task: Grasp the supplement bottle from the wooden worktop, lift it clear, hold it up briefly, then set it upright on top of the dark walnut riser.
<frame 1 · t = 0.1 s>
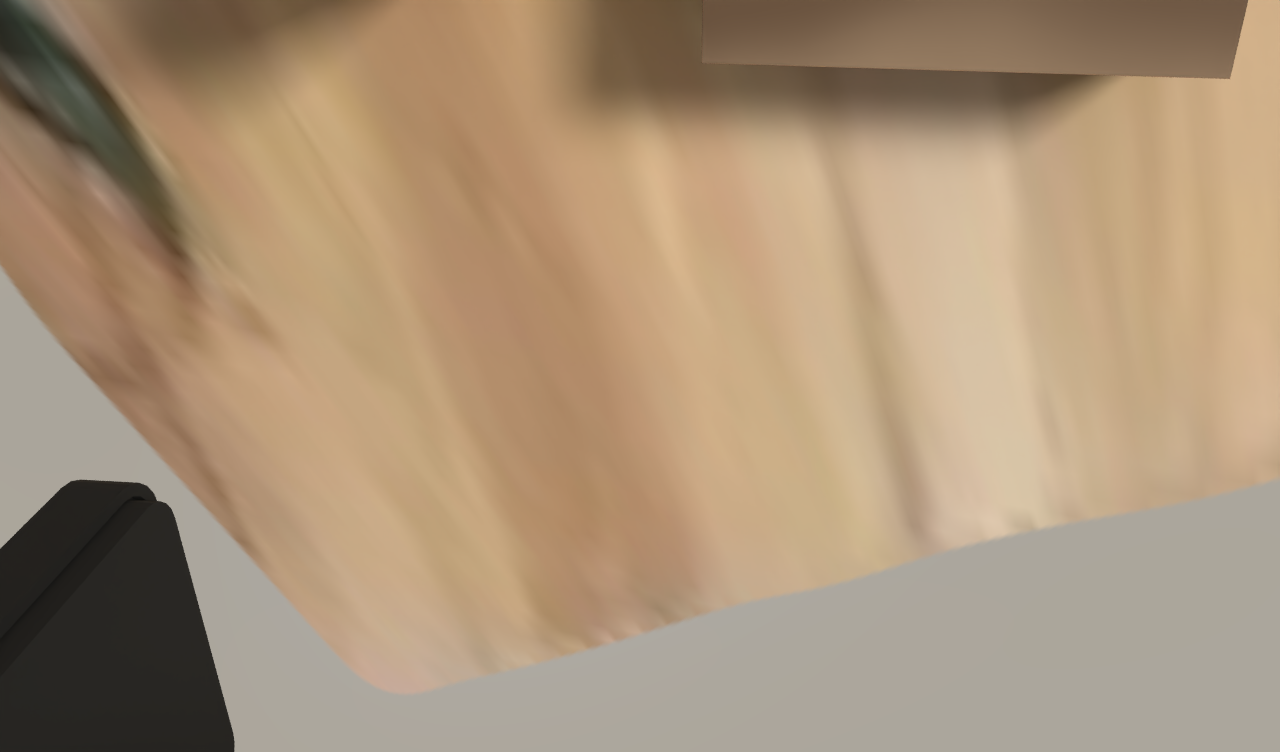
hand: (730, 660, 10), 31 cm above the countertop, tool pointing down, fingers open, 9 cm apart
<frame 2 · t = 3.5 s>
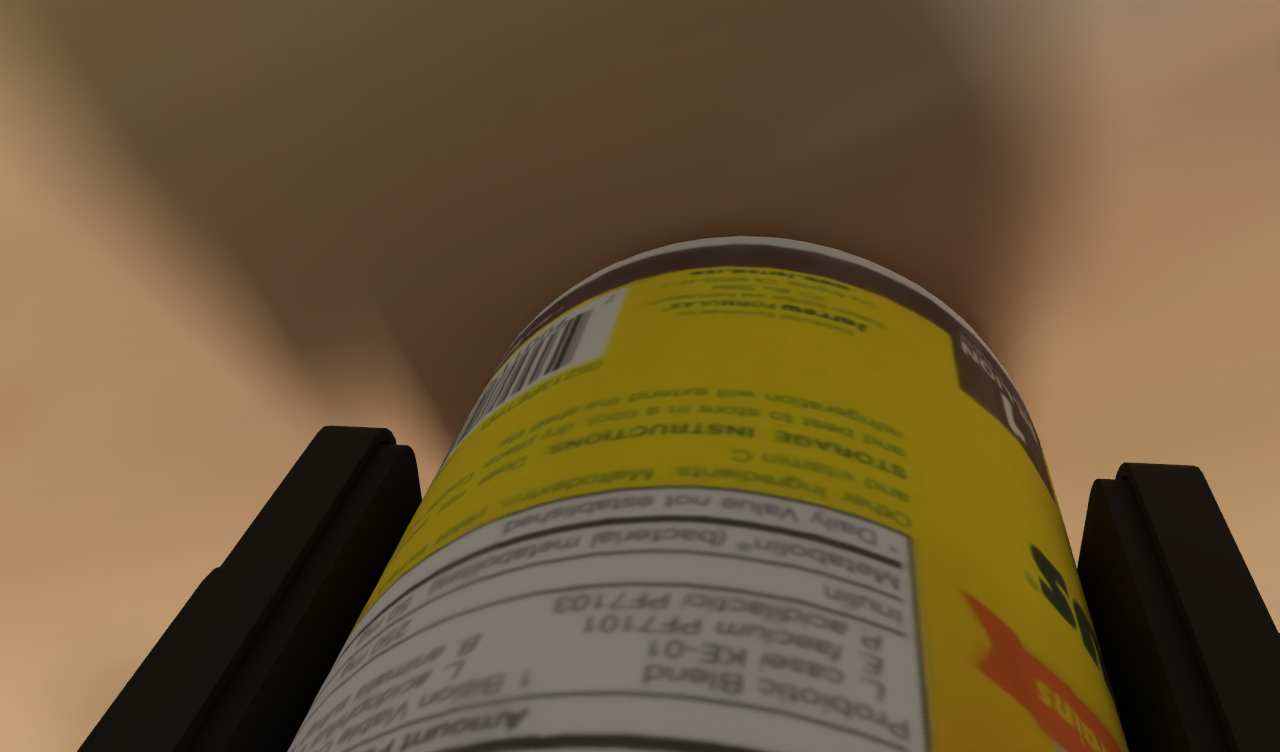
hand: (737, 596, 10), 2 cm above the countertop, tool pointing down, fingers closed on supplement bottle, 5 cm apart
supplement bottle: (754, 457, 12), on the countertop, touching gripper
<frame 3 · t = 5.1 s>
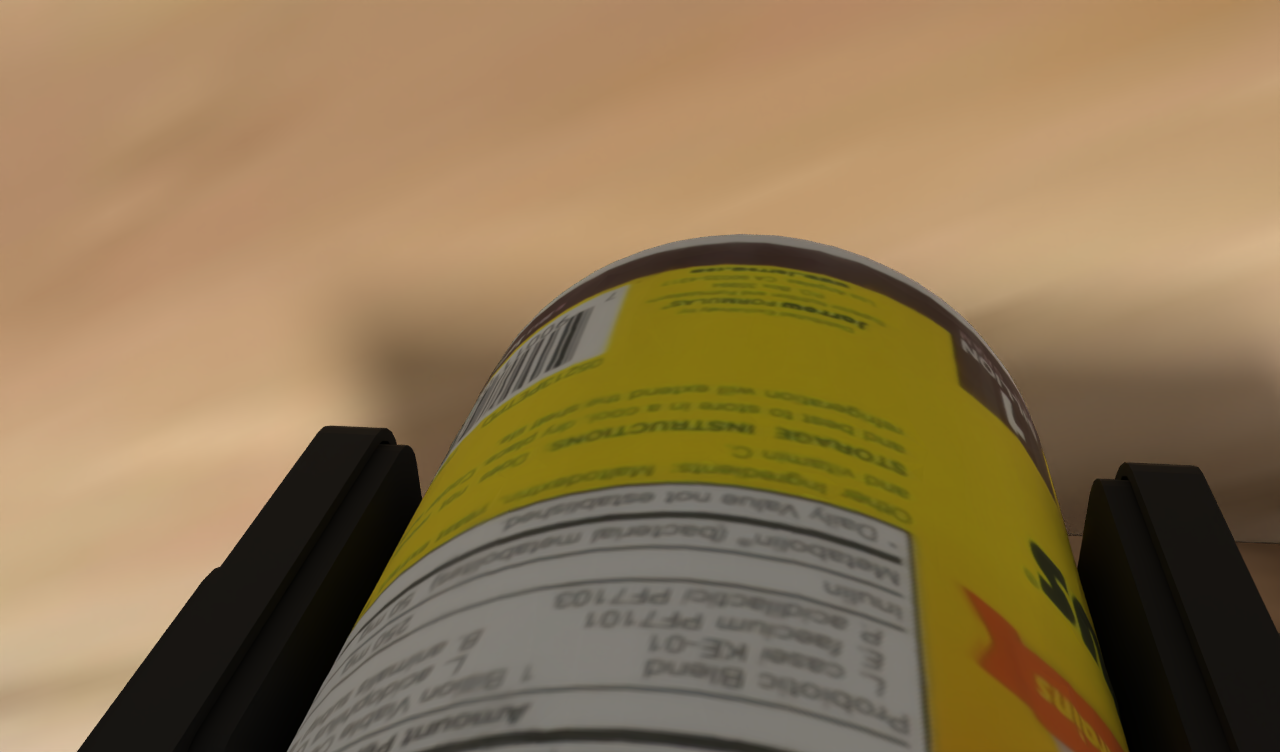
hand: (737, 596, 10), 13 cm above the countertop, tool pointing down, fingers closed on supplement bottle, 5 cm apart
supplement bottle: (755, 455, 12), point 11 cm above the countertop, touching gripper
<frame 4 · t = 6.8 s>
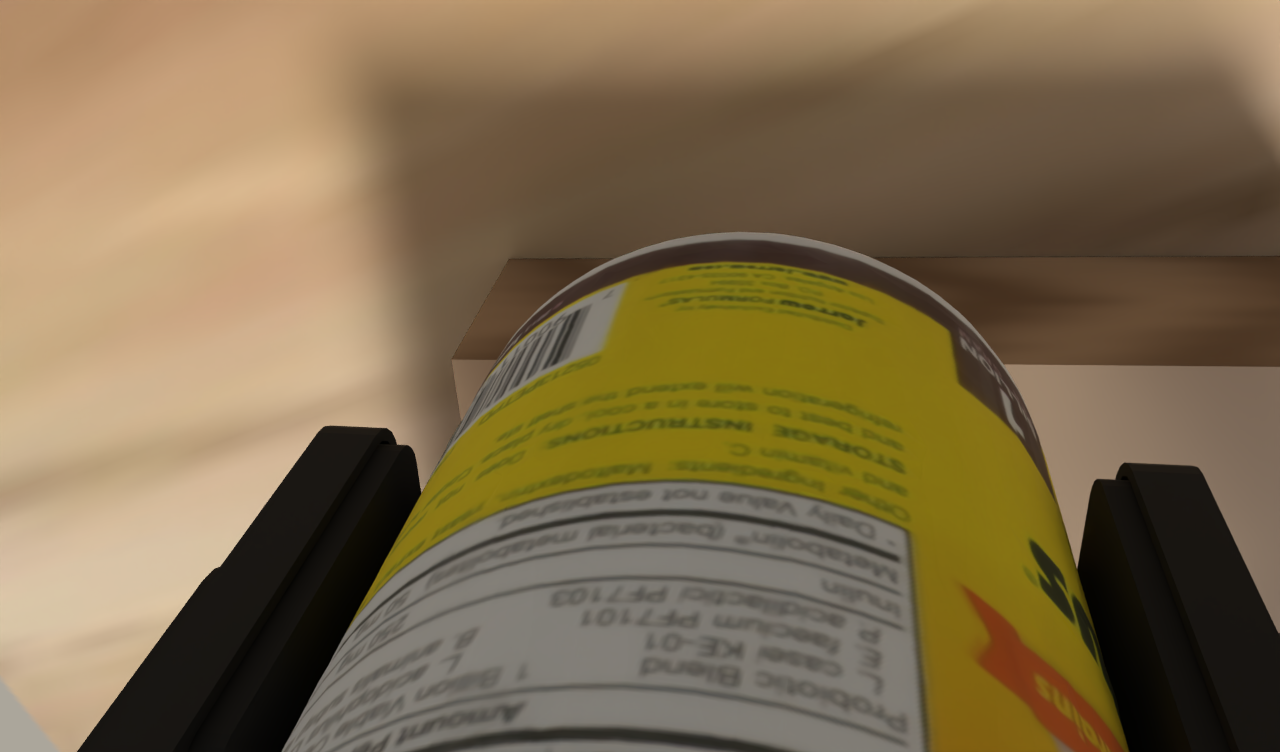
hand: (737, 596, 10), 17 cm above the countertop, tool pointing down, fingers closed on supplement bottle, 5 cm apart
supplement bottle: (753, 453, 12), point 15 cm above the countertop, touching gripper
walnut riser: (891, 516, 30), on the countertop
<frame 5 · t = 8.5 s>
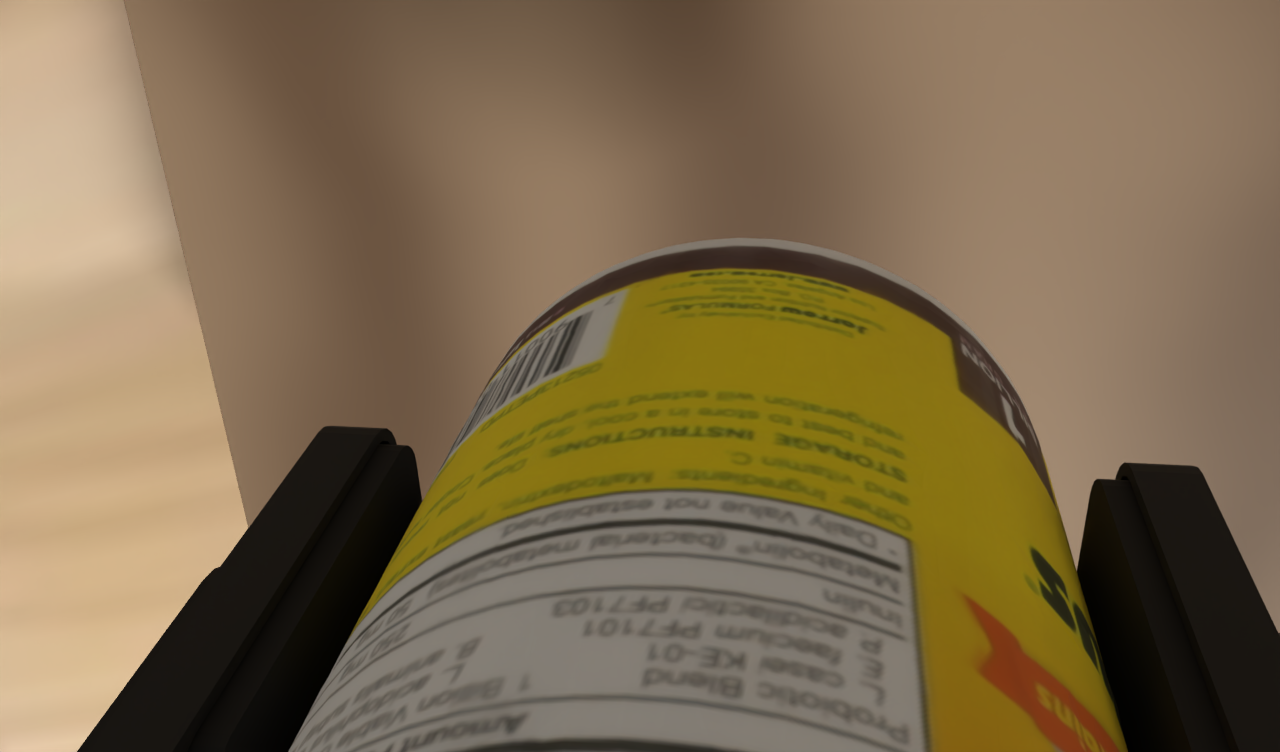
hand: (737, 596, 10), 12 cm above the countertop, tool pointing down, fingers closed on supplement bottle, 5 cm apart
supplement bottle: (754, 458, 12), point 10 cm above the countertop, touching gripper
walnut riser: (802, 148, 21), on the countertop
when the fingers open (8 cm above the countertop, at t = 10.0 s): supplement bottle drops 1 cm, resting on walnut riser.
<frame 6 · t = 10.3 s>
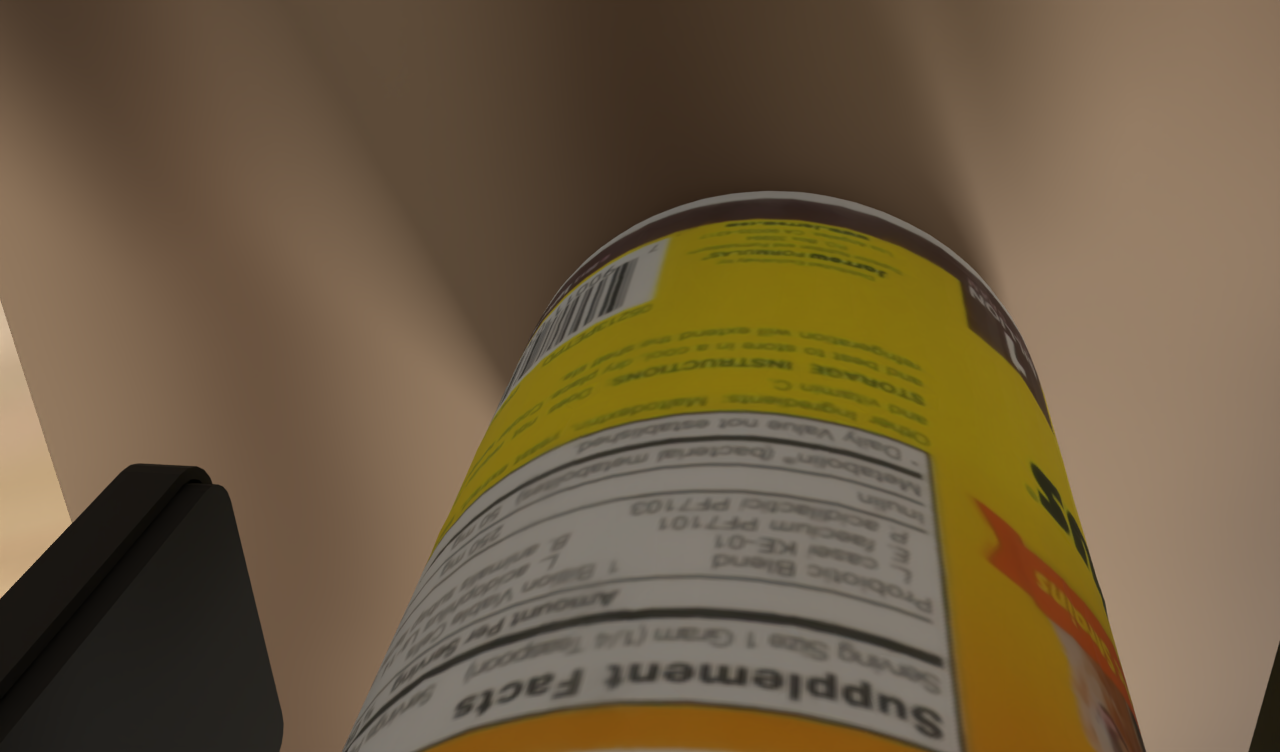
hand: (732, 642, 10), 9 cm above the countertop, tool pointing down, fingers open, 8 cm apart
supplement bottle: (777, 393, 13), point 5 cm above the countertop, touching walnut riser
walnut riser: (780, 229, 18), on the countertop
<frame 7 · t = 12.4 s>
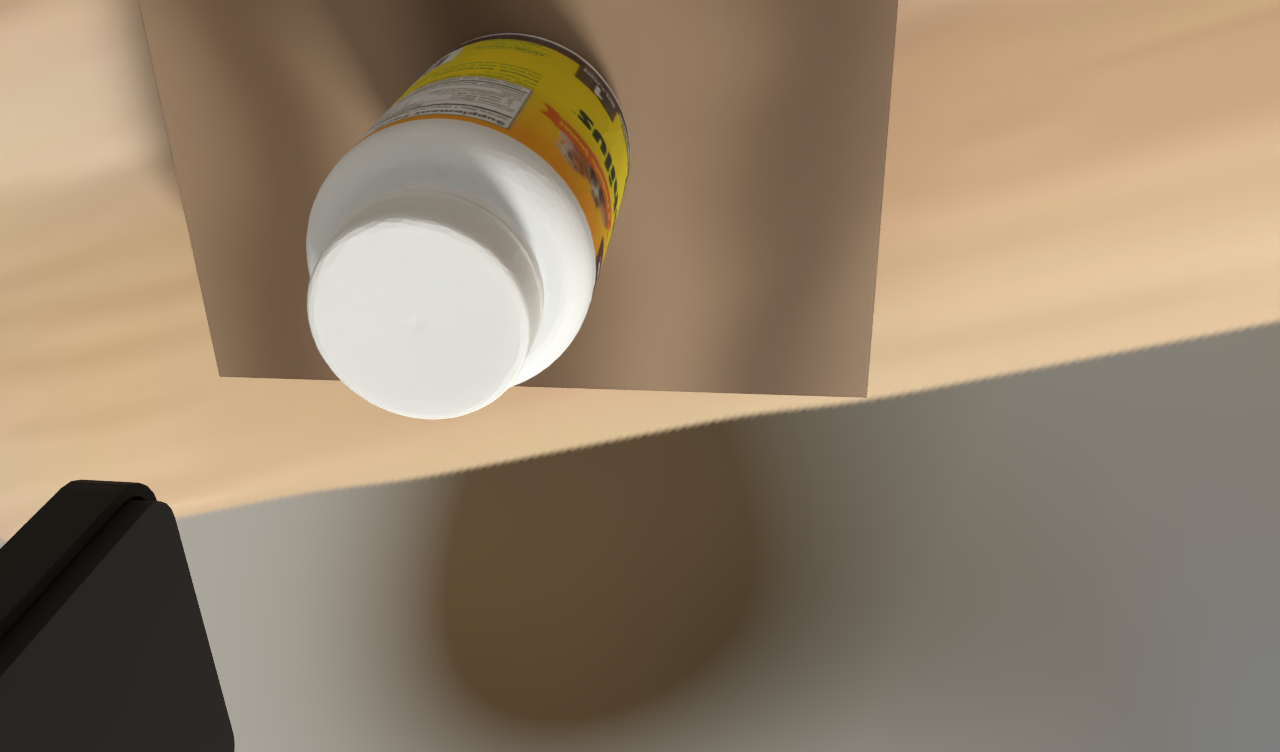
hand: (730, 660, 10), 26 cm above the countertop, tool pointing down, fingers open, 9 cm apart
supplement bottle: (524, 136, 30), point 5 cm above the countertop, touching walnut riser
walnut riser: (550, 84, 34), on the countertop
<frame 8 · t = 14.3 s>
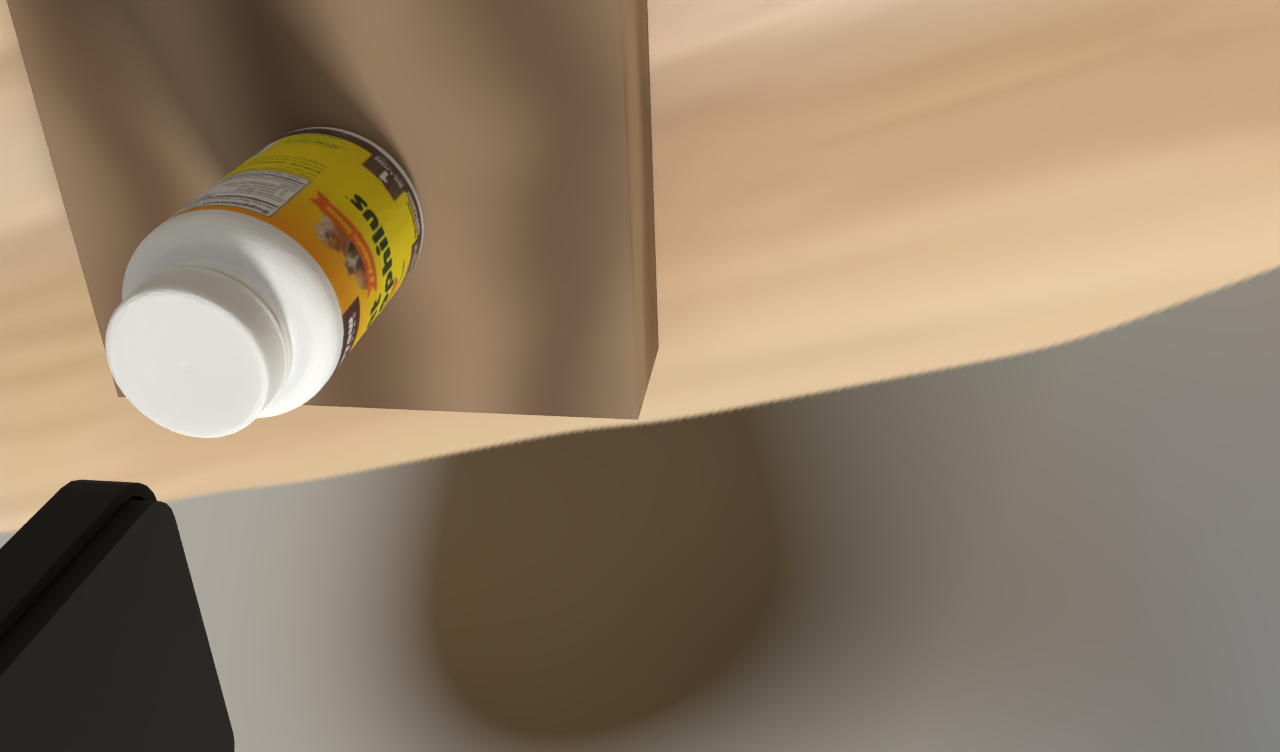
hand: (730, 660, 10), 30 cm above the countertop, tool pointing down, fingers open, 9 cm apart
supplement bottle: (343, 206, 37), point 5 cm above the countertop, touching walnut riser
walnut riser: (389, 155, 41), on the countertop
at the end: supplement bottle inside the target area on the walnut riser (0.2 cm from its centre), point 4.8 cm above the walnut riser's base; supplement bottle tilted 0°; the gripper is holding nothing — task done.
